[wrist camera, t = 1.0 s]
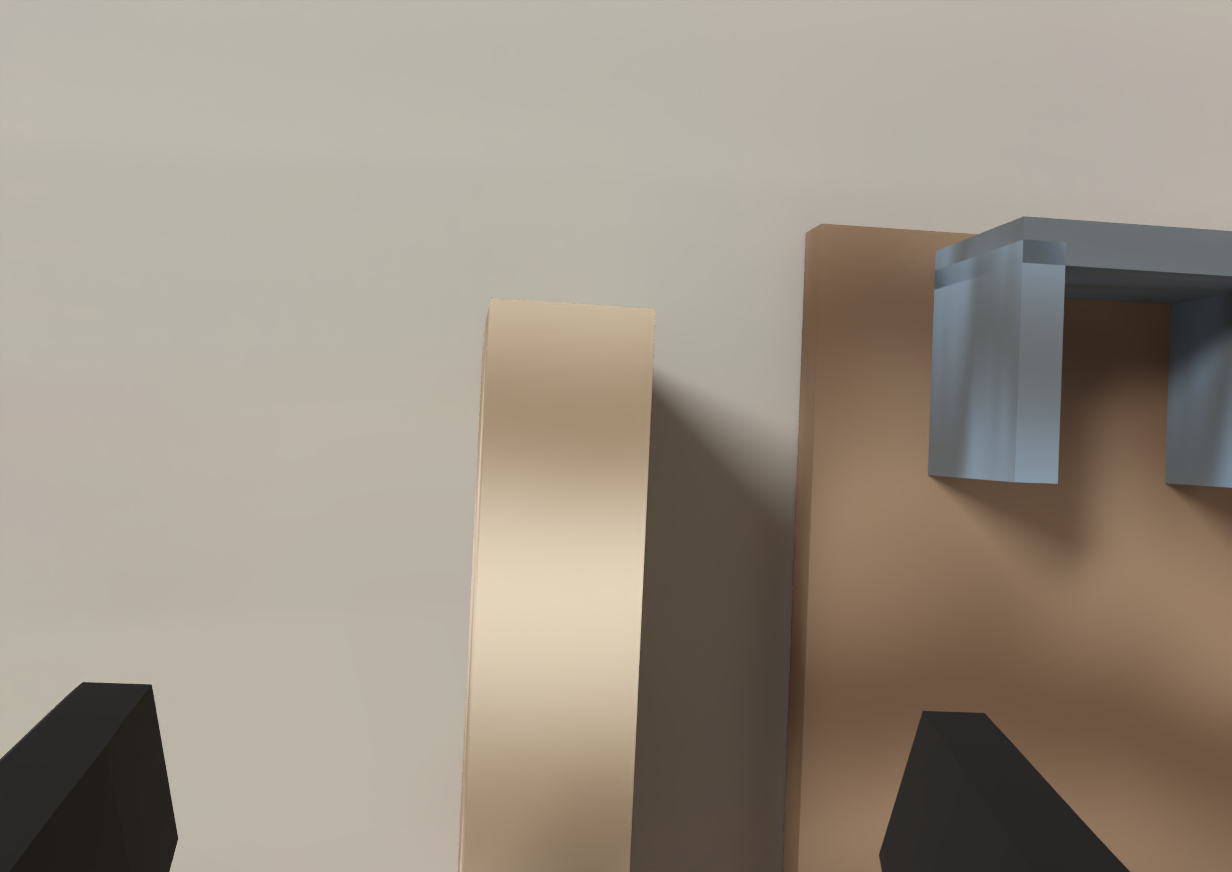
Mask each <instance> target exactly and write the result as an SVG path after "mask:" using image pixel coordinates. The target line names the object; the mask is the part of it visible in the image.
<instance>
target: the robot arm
mask: <svg viewBox="0 0 1232 872" xmlns="http://www.w3.org/2000/svg"><path fill="white" fill-rule="evenodd" d="M177 841H178V835H177V829H176V823H175V818H174V812H173V806H172V800H171V794H170V788H169V783H168V777H167V771H166V765H165V759H164V754H163V748H162V742H161V736H160V730H159V724H158V719H157V713H156V707H155V701H154V695H153V689H152V685H148V684H119V683H89V682H83V683H81V684H80V685H79V686H78V687H77V688H75V689H74V690H73V691H72V692H71V693H70V694H69V695H67V696H66V697H65V698H64V699H63V700H62V701H61V702H60V703H59V704H58V705H57V706H56V707H55V708H54V709H52V710H51V711H50V712H49V713H48V714H47V715H46V716H45V717H44V718H43V719H42V720H41V721H40V722H39V723H38V724H37V725H36V726H35V727H34V728H33V729H32V730H30V731H29V732H28V733H27V734H26V735H25V736H24V737H23V738H22V739H21V740H20V741H19V742H18V743H17V744H16V745H15V746H14V747H13V748H12V749H11V750H10V751H9V752H7V753H6V754H5V755H4V756H3V757H2V758H1V759H0V872H169V871H170V867H171V863H172V860H173V856H174V852H175V848H176V845H177ZM879 859H880V864H881V870H882V872H1130V871H1129V870H1128V869H1127V868H1126V867H1125V866H1124V864H1123V863H1122V862H1121V861H1120V860H1119V859H1118V858H1117V857H1116V856H1115V855H1114V854H1113V853H1112V852H1111V851H1110V850H1109V848H1108V847H1107V846H1106V845H1105V844H1104V843H1103V842H1102V841H1101V840H1100V839H1099V838H1098V837H1097V836H1096V834H1095V833H1094V832H1093V831H1092V830H1091V829H1090V828H1089V827H1088V826H1087V825H1086V824H1085V822H1084V821H1083V820H1082V819H1081V818H1080V817H1079V816H1078V815H1077V814H1076V813H1075V812H1074V810H1073V809H1072V808H1071V807H1070V806H1069V805H1068V804H1067V803H1066V802H1065V801H1064V800H1063V798H1062V797H1061V796H1060V795H1059V794H1058V793H1057V792H1056V791H1055V790H1054V789H1053V787H1052V786H1051V785H1050V784H1049V783H1048V782H1047V781H1046V780H1045V779H1044V777H1043V776H1042V775H1041V774H1040V773H1039V772H1038V771H1037V770H1036V769H1035V767H1034V766H1033V765H1032V764H1031V763H1030V762H1029V761H1028V760H1027V759H1026V757H1025V756H1024V755H1023V754H1022V753H1021V752H1020V751H1019V750H1018V749H1017V748H1016V746H1015V745H1014V744H1013V743H1012V742H1011V741H1010V740H1009V739H1008V738H1007V737H1006V735H1005V734H1004V733H1003V732H1002V731H1001V730H1000V729H999V728H998V727H997V726H996V725H995V724H994V723H993V721H992V720H991V719H990V718H989V717H988V716H987V715H986V714H985V713H974V712H945V711H923V712H922V715H921V718H920V721H919V725H918V728H917V731H916V735H915V738H914V741H913V744H912V748H911V751H910V754H909V757H908V761H907V764H906V767H905V771H904V774H903V777H902V780H901V784H900V787H899V790H898V794H897V797H896V800H895V803H894V807H893V810H892V813H891V816H890V820H889V823H888V826H887V830H886V833H885V836H884V839H883V843H882V846H881V849H880V853H879Z"/></svg>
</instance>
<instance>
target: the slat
mask: <svg viewBox="0 0 1232 872" xmlns="http://www.w3.org/2000/svg"><path fill="white" fill-rule="evenodd" d="M655 314H656V309H651V308H635V307H620V306H604V305H589V304H574V303H558V302H543V301H527V300H512V299H497V298H491V300H490V304H489V309H488V314H487V319H486V324H485V329H484V334H483V352H482V373H481V394H480V415H479V436H478V457H477V478H476V499H475V520H474V541H473V562H472V583H471V604H470V625H469V646H468V667H467V688H466V709H465V730H464V751H463V772H462V793H461V814H460V835H459V856H458V872H630V852H631V831H632V809H633V788H634V766H635V745H636V723H637V702H638V680H639V659H640V637H641V616H642V594H643V573H644V551H645V530H646V508H647V486H648V465H649V443H650V422H651V400H652V379H653V357H654V336H655Z"/></svg>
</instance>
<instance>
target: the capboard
mask: <svg viewBox="0 0 1232 872" xmlns="http://www.w3.org/2000/svg"><path fill="white" fill-rule="evenodd" d="M923 711H945V712H974V713H985V714H986V715H987V716H988V717H989V718H990V719H991V720H992V721H993V723H994V724H995V725H996V726H997V727H998V728H999V729H1000V730H1001V731H1002V732H1003V733H1004V734H1005V735H1006V737H1007V738H1008V739H1009V740H1010V741H1011V742H1012V743H1013V744H1014V745H1015V746H1016V748H1017V749H1018V750H1019V751H1020V752H1021V753H1022V754H1023V755H1024V756H1025V757H1026V759H1027V760H1028V761H1029V762H1030V763H1031V764H1032V765H1033V766H1034V767H1035V769H1036V770H1037V771H1038V772H1039V773H1040V774H1041V775H1042V776H1043V777H1044V779H1045V780H1046V781H1047V782H1048V783H1049V784H1050V785H1051V786H1052V787H1053V789H1054V790H1055V791H1056V792H1057V793H1058V794H1059V795H1060V796H1061V797H1062V798H1063V800H1064V801H1065V802H1066V803H1067V804H1068V805H1069V806H1070V807H1071V808H1072V809H1073V810H1074V812H1075V813H1076V814H1077V815H1078V816H1079V817H1080V818H1081V819H1082V820H1083V821H1084V822H1085V824H1086V825H1087V826H1088V827H1089V828H1090V829H1091V830H1092V831H1093V832H1094V833H1095V834H1096V836H1097V837H1098V838H1099V839H1100V840H1101V841H1102V842H1103V843H1104V844H1105V845H1106V846H1107V847H1108V848H1109V850H1110V851H1111V852H1112V853H1113V854H1114V855H1115V856H1116V857H1117V858H1118V859H1119V860H1120V861H1121V862H1122V863H1123V864H1124V866H1125V867H1126V868H1127V869H1128V870H1129V871H1130V872H1232V231H1220V230H1206V229H1192V228H1178V227H1164V226H1150V225H1136V224H1122V223H1108V222H1094V221H1080V220H1066V219H1052V218H1038V217H1021V218H1019V219H1016V220H1014V221H1011V222H1009V223H1006V224H1004V225H1001V226H998V227H996V228H993V229H991V230H988V231H986V232H983V233H981V234H964V233H950V232H935V231H920V230H906V229H891V228H877V227H862V226H847V225H833V224H820V225H819V226H817V227H815V228H814V229H812V230H810V231H808V232H807V233H806V245H805V272H804V299H803V327H802V354H801V382H800V409H799V437H798V464H797V492H796V519H795V547H794V574H793V601H792V629H791V656H790V684H789V711H788V739H787V766H786V794H785V821H784V849H783V872H882V870H881V864H880V859H879V853H880V849H881V846H882V843H883V839H884V836H885V833H886V830H887V826H888V823H889V820H890V816H891V813H892V810H893V807H894V803H895V800H896V797H897V794H898V790H899V787H900V784H901V780H902V777H903V774H904V771H905V767H906V764H907V761H908V757H909V754H910V751H911V748H912V744H913V741H914V738H915V735H916V731H917V728H918V725H919V721H920V718H921V715H922V712H923Z"/></svg>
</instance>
